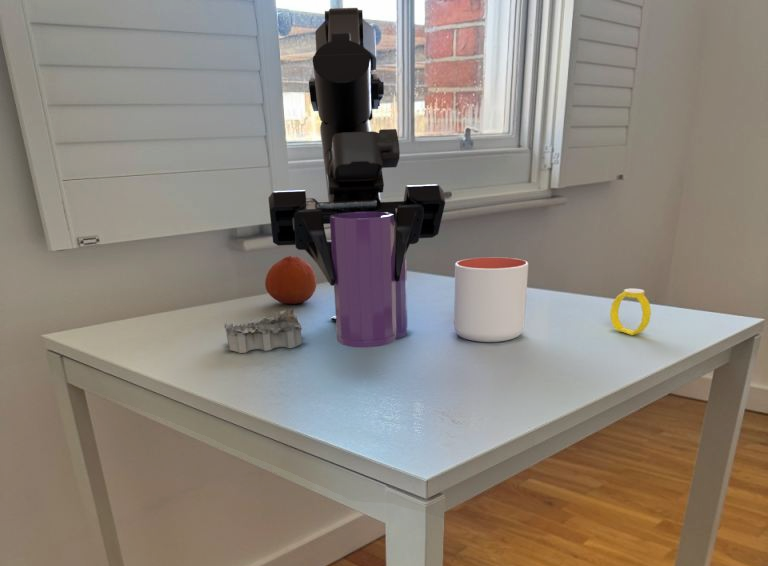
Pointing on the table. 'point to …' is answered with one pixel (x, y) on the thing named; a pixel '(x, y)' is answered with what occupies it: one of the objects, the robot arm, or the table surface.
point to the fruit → (291, 281)
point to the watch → (644, 304)
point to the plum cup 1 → (364, 278)
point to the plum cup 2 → (401, 302)
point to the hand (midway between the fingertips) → (365, 281)
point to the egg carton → (265, 333)
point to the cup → (490, 298)
